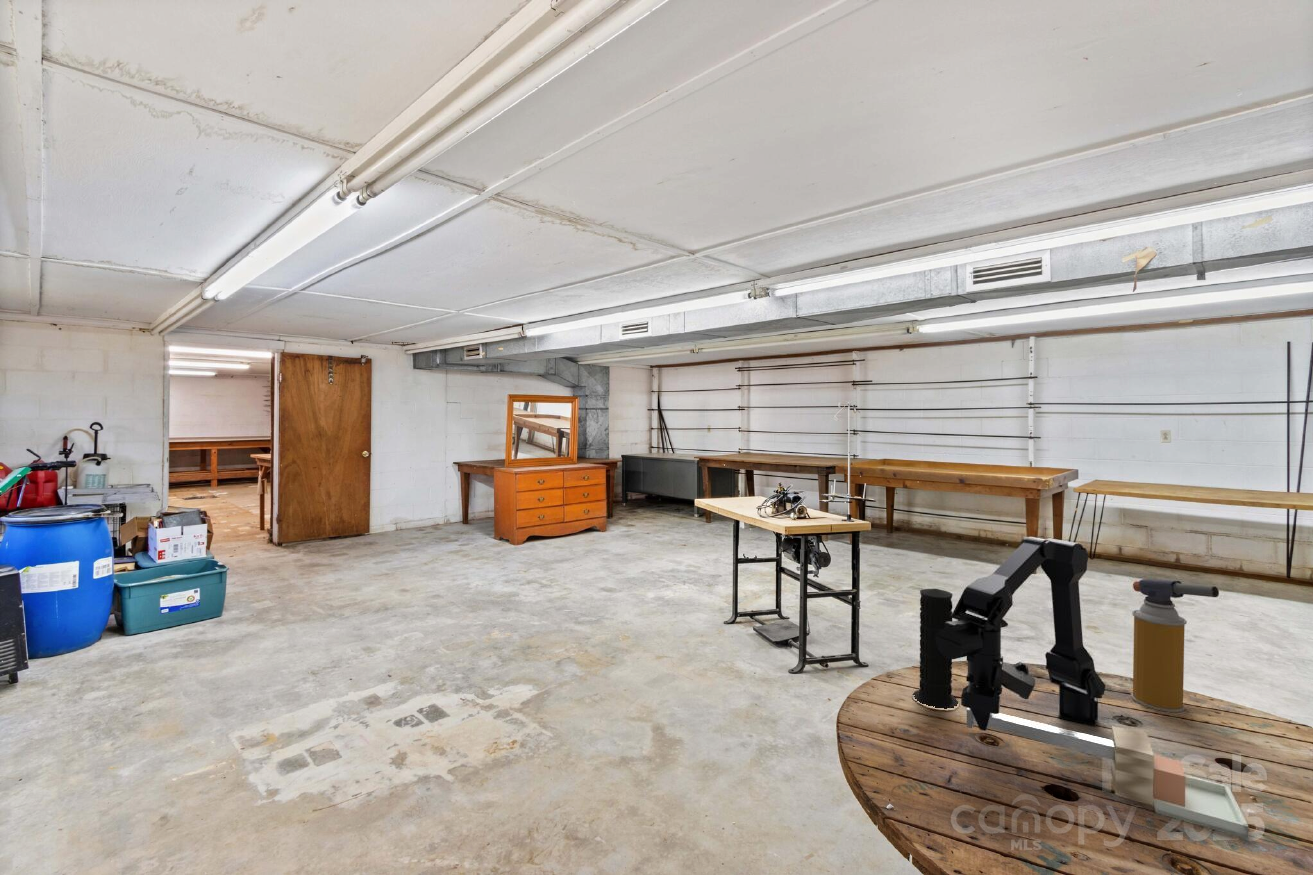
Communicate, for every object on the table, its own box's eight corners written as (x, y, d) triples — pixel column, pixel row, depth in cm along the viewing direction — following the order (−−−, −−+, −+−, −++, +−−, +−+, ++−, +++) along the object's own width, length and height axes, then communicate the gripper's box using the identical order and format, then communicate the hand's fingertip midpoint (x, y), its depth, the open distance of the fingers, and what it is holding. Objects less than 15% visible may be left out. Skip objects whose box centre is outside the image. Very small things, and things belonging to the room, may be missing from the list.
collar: (1153, 798, 99) (1154, 768, 98) (1149, 782, 103) (1150, 753, 103) (1185, 807, 96) (1185, 776, 96) (1179, 790, 100) (1180, 761, 100)
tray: (1155, 812, 96) (1155, 800, 96) (1145, 775, 106) (1145, 764, 106) (1248, 839, 90) (1248, 826, 90) (1227, 796, 100) (1228, 785, 100)
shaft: (966, 727, 115) (966, 709, 115) (968, 718, 118) (968, 701, 118) (1134, 770, 100) (1134, 750, 100) (1131, 759, 104) (1132, 740, 103)
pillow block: (1115, 795, 100) (1116, 746, 100) (1111, 771, 107) (1111, 725, 107) (1152, 805, 98) (1153, 755, 97) (1146, 780, 104) (1146, 733, 104)
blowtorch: (1148, 689, 139) (1150, 566, 138) (1229, 723, 124) (1232, 585, 123) (1118, 694, 137) (1120, 569, 136) (1197, 729, 121) (1200, 588, 120)
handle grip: (962, 697, 136) (917, 686, 142) (963, 586, 135) (917, 580, 141) (955, 715, 128) (907, 702, 133) (956, 597, 127) (908, 590, 133)
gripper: (1031, 677, 102) (1030, 763, 103) (1033, 643, 118) (1032, 718, 118) (961, 662, 109) (960, 744, 109) (971, 632, 124) (971, 703, 124)
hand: (983, 726), depth 115 cm, fingers closed on shaft, 2 cm apart
